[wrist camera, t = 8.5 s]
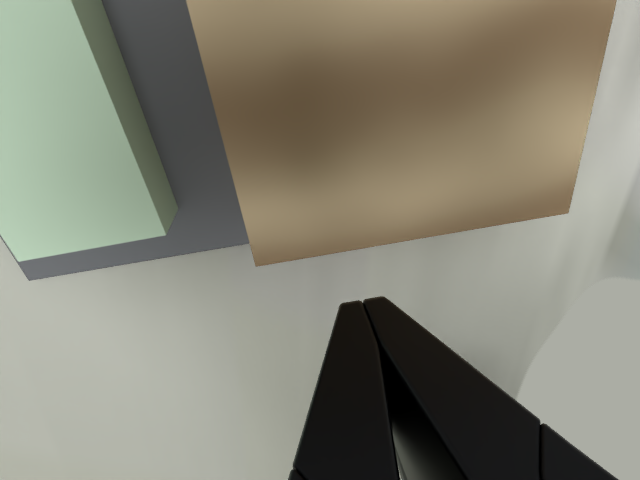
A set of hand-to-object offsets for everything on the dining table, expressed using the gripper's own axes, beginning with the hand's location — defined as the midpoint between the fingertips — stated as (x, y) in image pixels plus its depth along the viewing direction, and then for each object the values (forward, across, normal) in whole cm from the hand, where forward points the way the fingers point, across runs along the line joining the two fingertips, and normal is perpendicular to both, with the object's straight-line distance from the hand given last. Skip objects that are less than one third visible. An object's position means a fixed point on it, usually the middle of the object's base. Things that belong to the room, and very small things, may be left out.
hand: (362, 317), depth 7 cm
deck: (+12, -3, -3) cm, 12 cm away
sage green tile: (+9, +10, -3) cm, 13 cm away
